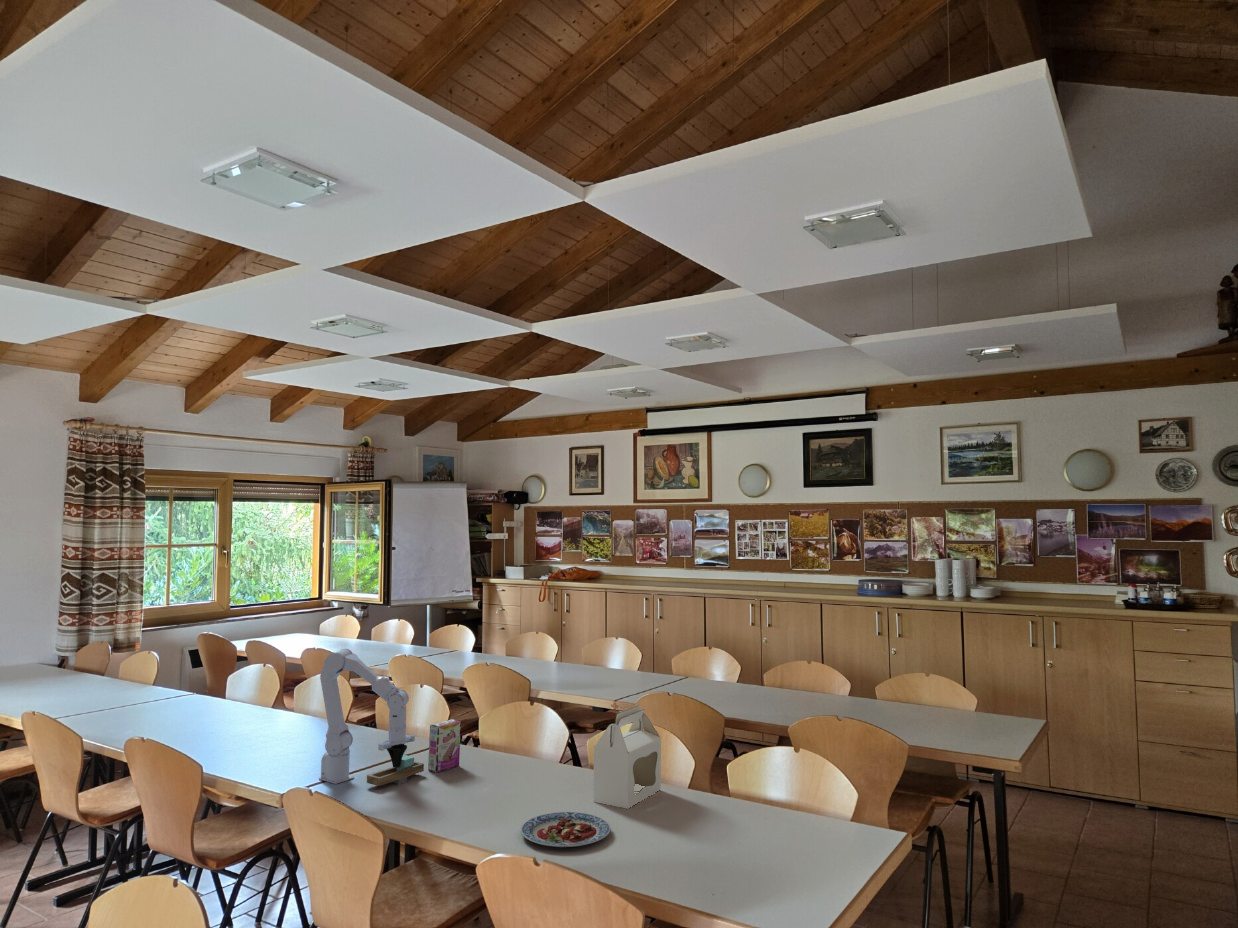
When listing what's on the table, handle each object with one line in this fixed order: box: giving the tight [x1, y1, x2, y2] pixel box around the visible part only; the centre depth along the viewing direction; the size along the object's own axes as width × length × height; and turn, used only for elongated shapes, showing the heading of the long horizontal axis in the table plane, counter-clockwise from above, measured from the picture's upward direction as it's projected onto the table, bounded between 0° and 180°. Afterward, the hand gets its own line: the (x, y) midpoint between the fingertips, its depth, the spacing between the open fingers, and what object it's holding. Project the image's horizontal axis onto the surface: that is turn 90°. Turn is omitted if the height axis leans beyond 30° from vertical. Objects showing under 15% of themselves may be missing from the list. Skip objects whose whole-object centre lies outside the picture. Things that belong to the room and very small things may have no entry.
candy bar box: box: [427, 718, 462, 774], centre depth 293 cm, size 11×5×16 cm, turn 144°
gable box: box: [592, 704, 662, 810], centre depth 266 cm, size 22×13×28 cm, turn 149°
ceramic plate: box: [520, 811, 611, 848], centre depth 232 cm, size 26×26×3 cm
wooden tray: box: [366, 761, 425, 787], centre depth 278 cm, size 7×20×4 cm, turn 147°
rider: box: [396, 754, 415, 772], centre depth 281 cm, size 5×4×5 cm
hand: (396, 766), depth 278 cm, fingers closed
